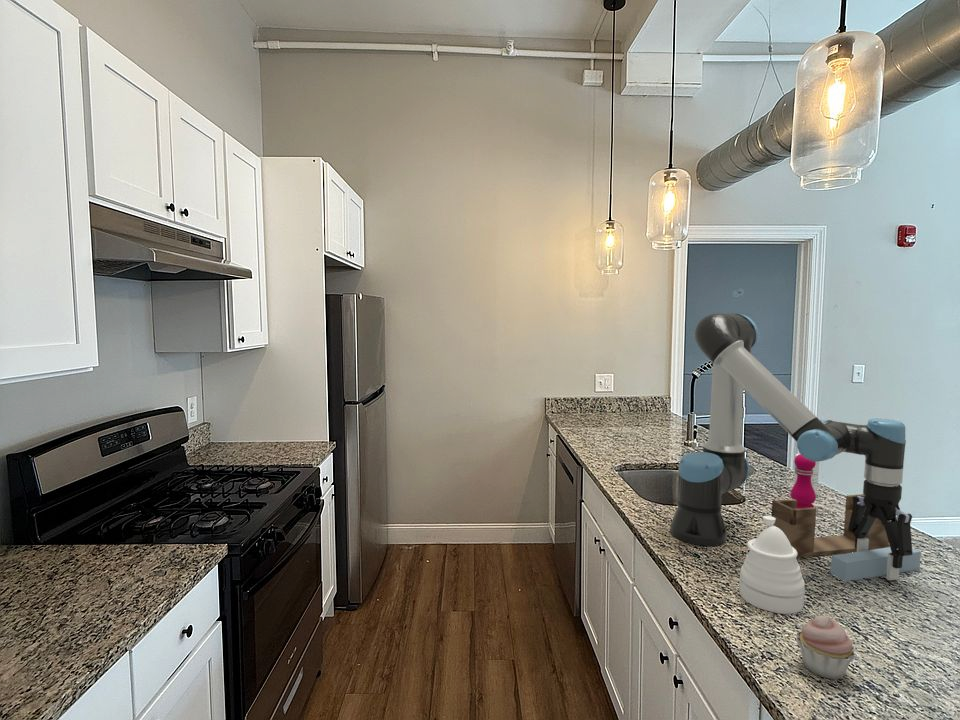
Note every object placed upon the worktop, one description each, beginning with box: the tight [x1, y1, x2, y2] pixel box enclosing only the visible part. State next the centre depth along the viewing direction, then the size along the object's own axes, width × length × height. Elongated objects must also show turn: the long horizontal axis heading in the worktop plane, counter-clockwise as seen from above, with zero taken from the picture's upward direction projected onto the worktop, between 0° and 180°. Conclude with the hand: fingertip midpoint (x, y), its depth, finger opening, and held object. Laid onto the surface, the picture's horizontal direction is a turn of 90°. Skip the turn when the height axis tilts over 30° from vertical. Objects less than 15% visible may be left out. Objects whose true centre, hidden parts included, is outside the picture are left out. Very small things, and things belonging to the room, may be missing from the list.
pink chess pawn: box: [792, 452, 820, 497], centre depth 188 cm, size 6×6×14 cm
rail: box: [830, 547, 922, 582], centre depth 132 cm, size 24×4×5 cm, turn 105°
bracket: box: [771, 493, 891, 559], centre depth 145 cm, size 31×8×13 cm, turn 101°
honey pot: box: [738, 515, 806, 615], centre depth 119 cm, size 13×13×18 cm
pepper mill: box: [790, 454, 817, 509], centre depth 174 cm, size 7×7×20 cm
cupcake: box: [795, 615, 857, 680], centre depth 95 cm, size 9×9×10 cm
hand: (876, 570), depth 131 cm, fingers open, 8 cm apart
